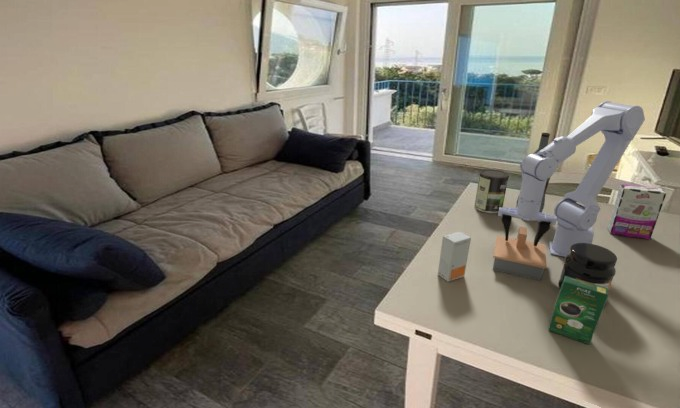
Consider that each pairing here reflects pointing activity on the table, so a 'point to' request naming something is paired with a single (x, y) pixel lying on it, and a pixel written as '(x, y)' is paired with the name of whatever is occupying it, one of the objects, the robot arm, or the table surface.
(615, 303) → the table surface
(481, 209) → the coffee can
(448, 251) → the skincare box
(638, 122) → the robot arm
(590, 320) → the coffee box
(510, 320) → the table surface
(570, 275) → the supplement container
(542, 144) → the bottle
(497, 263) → the tub
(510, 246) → the lid
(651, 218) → the candy bar box
